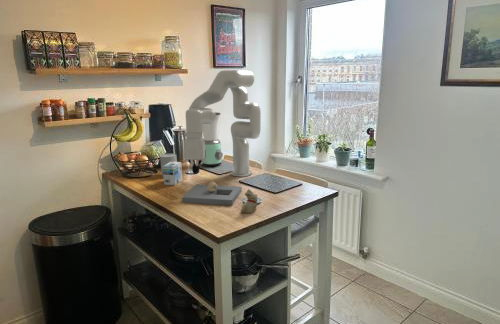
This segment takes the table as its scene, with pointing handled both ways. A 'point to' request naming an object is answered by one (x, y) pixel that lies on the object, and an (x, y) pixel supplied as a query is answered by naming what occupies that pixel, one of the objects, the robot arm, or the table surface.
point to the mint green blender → (212, 142)
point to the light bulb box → (172, 173)
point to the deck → (212, 195)
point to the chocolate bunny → (249, 202)
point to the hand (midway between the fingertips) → (195, 173)
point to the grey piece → (167, 160)
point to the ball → (211, 186)
